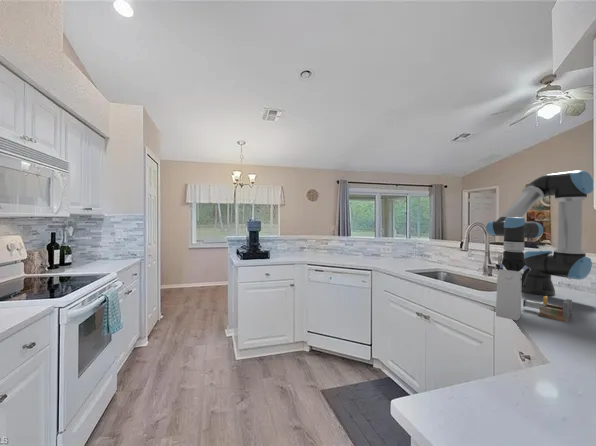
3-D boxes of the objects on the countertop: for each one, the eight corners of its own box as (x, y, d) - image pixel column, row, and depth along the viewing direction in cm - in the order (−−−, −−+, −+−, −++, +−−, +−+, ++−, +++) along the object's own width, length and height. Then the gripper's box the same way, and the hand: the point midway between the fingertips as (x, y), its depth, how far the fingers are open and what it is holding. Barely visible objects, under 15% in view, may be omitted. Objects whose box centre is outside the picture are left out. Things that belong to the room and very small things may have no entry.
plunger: (525, 305, 124) (525, 292, 124) (547, 309, 118) (548, 295, 118) (522, 306, 122) (523, 293, 122) (545, 311, 116) (545, 297, 115)
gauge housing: (545, 310, 122) (545, 294, 122) (572, 315, 115) (572, 299, 115) (538, 315, 114) (538, 298, 114) (566, 321, 108) (567, 304, 108)
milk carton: (499, 312, 118) (500, 268, 117) (520, 316, 113) (521, 270, 112) (495, 316, 113) (497, 270, 112) (517, 321, 108) (519, 272, 107)
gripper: (493, 250, 129) (492, 300, 129) (529, 253, 118) (527, 307, 119) (499, 249, 133) (498, 297, 134) (534, 252, 123) (532, 304, 123)
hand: (512, 302), depth 126 cm, fingers closed
